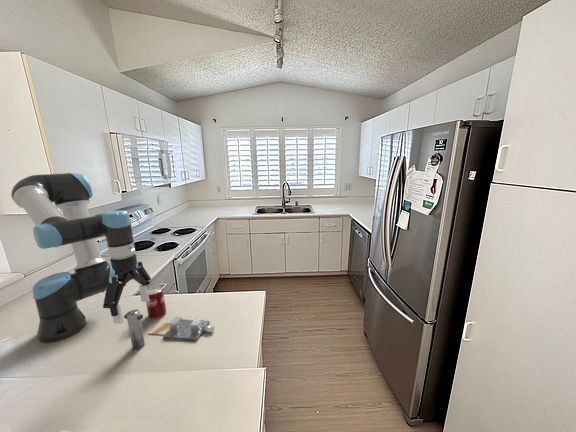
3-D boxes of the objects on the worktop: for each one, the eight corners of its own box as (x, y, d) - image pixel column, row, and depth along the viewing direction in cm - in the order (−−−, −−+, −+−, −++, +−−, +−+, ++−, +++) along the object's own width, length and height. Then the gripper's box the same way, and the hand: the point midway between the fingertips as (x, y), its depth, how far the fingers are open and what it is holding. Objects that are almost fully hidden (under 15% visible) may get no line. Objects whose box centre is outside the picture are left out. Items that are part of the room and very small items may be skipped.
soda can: (161, 308, 119) (158, 284, 116) (169, 313, 114) (166, 289, 112) (145, 315, 113) (141, 291, 111) (152, 321, 109) (148, 296, 106)
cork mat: (148, 334, 101) (148, 333, 101) (159, 323, 108) (159, 322, 108) (165, 335, 100) (164, 334, 100) (174, 324, 107) (174, 323, 107)
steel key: (126, 349, 93) (120, 315, 90) (134, 341, 97) (128, 309, 94) (143, 350, 92) (137, 316, 89) (150, 342, 96) (144, 309, 93)
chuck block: (163, 338, 98) (161, 328, 97) (178, 321, 109) (177, 311, 108) (207, 341, 96) (206, 331, 95) (218, 323, 107) (217, 313, 106)
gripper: (103, 271, 74) (115, 334, 79) (155, 244, 98) (163, 293, 103) (80, 270, 75) (94, 333, 79) (138, 244, 99) (146, 293, 104)
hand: (133, 311), depth 91 cm, fingers open, 13 cm apart
